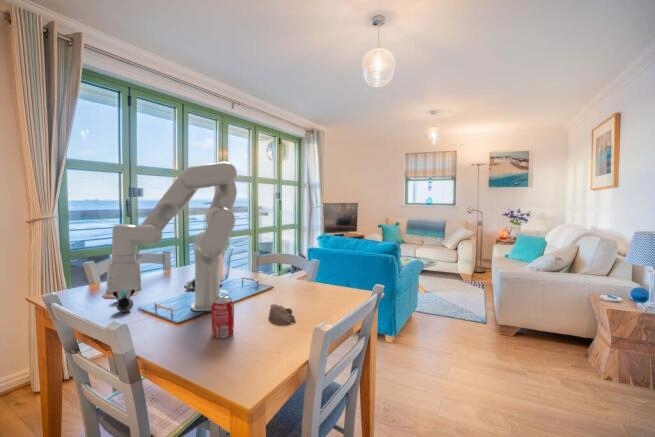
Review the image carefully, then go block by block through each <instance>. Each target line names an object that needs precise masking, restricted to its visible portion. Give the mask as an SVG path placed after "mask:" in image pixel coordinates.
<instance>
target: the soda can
mask: <svg viewBox="0 0 655 437" xmlns="http://www.w3.org/2000/svg"><path fill="white" fill-rule="evenodd" d="M234 330H235V304H234V302H233V298H232V297H229V296H223V297H221V298H217V299H215V300H214V303H213V305H212V311H211V334H212V336H213V337H214V338H216V339H220V340H222V339H227V338H229V337H231V335H233V333H234Z"/></svg>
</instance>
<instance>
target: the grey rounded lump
mask: <svg viewBox="0 0 655 437" xmlns="http://www.w3.org/2000/svg"><path fill="white" fill-rule="evenodd" d="M115 306H116V309H117V311H118V312H120V313H127V312H129V311H131V310H132V308H133V307H134V301H133V300H132V299H131V297H130V298H129V306H127V309H126V310H121V307H120V308H119V301H117V303H116V304H115Z"/></svg>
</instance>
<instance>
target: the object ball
mask: <svg viewBox="0 0 655 437" xmlns="http://www.w3.org/2000/svg"><path fill="white" fill-rule="evenodd" d="M121 293H122V296H123V298H124V297H125V295H126V290H125V291H121ZM115 298H116V299H115V300H116V301H117V302H118V301H119V299H118V298H117V297H115Z"/></svg>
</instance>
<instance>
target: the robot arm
mask: <svg viewBox="0 0 655 437" xmlns="http://www.w3.org/2000/svg"><path fill="white" fill-rule="evenodd" d="M237 172H238V171H237V169H236V166H234V165H233V164H232V163H230V162H228V161H222V162H215V163H208V164H202V165H193V166H189V167H186V168H185V169H183V170H182V171H181V172H180V174H179V175H178V176H177V177H176V179H175V180H174V181H173V183H172V184H171V185H170V187H169V188H168V190H166V192H165V193H164V195H163V196H162V197H161V198H160V199H159V201H158V202H157V204H156V205H155V206H154V207H153V209H152V211H150V213H149V214H148V215H147V217H146V218H145V219H144V220H143V222H141V224H140V225H135V224H130V223H129V224H127V223H125V224H124V223H123V224H122V223H121V224H115V225H114V226H113V228H112V237H111V238H112V242H111V243H112V246H111V248H112V249H111V262H109V264H108V266H107V274H106V290H105V293H106V295H114V296H115V297H117V298H118V299H119V308H120V307H121V310H126V309H127V306H129V298H130V299H131V297H133V296H134V295H133V294H134V293H136V292H139V293H140V292H141V291H142V286H141V285H142V276H141V275H142V274H141V264H140V260H139V259H142V258H143V256H142V254H138V245H142V246H155V245H157V244H159V243H160V241H162V238H163V230H164V229H165V228H166V227H167V225H168V224H169V223H170V221H171V220H172V219H173V218H174V217H175V216H177V215H178V214H180V213H181V212H182V211H183V210H185V207H186V206H187V205H188V204H189V203H190V201H191V200H192V198H193V197H194V196H195V194H197V192H198V190H199V189H205V188H211V187H215V192H214V195H213V199H212V201H211V203H210V206H209V208H208V211H207V212H206V214H205V222H206V225H207V226H206V230H204V231H201V232H199V233H198V234H197V235H196V236H195V237H194V240H193V253H194V255H193V256H194V278H195V291H194V302H193V303H191V304H190V309H191V310H192V311H195V312H198V311H207V312H212V305H213V303H214V300H215V299H217V298H221V297H224V296H222V293H220V292H221V291H220V290H221V288H220V287H221V286H220V282H221V281H220V278H221V277H220V276H221V274H220V272H221V270H220V269H221V265H220V263H221V262H220V261H221V260H220V256H221V255H222V254H223V253H224V251H225V250H226V249H227V245H228V244H229V243H228V242H229V240H230V238H231V235H232V233H233V230H234V227H235V224H236V216H235V214H234V213H233V208H234V204H235V202H236V199H237V192H238V191H237V186H236V182H235V180H236V178H237ZM125 290H126V295H125V297H124V298H123V296H122V293H121V291H125ZM116 291H117V292H116ZM132 295H133V296H132Z"/></svg>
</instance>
